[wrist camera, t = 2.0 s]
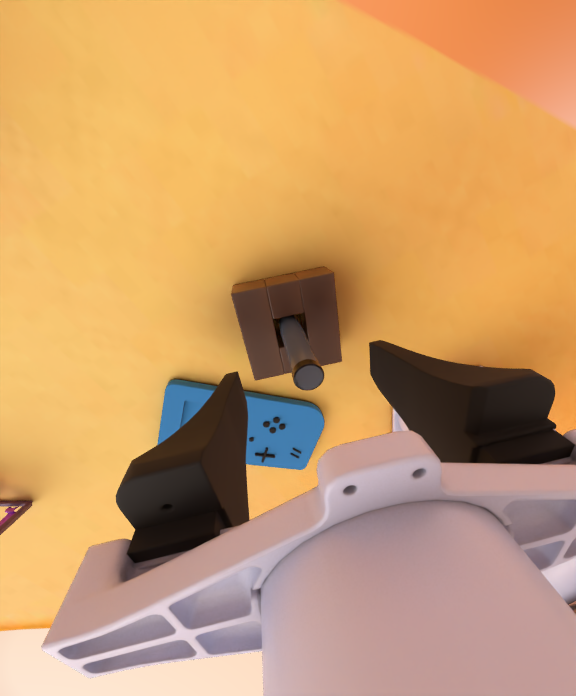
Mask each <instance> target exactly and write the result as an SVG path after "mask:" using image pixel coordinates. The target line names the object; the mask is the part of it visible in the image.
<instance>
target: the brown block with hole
mask: <svg viewBox="0 0 576 696" xmlns="http://www.w3.org/2000/svg"><path fill="white" fill-rule="evenodd" d="M231 296H232V300H233V303H234V307H235V310H236V314H237V318H238V321H239V325H240V328H241V332H242V336H243V339H244V343H245V346H246V350H247V354H248V357H249V361H250V364H251V368H252V372H253V375H254V379H255V380H260V379H264V378H269V377H273V376H278V375H282V374H284V373H285V374H286V373H291V368H290V365H289V361H288V357H287V354H286V350H285V346H284V343H283V339H282V336H281V334H277V335H276V331H275V326H274V322H273V319H276V318H281V317H286V316H291V315H295V314H300V315H301V321H302V327H303V331H304V333H305V335H306V337H307V339H308V341H309V343H310V345H311V347H312V349H313V351H314V353H315V356H316V358H317V360H318V362H319V364H320V365H321V366H324V365H328V364H333V363H337V362H342V356H341V345H340V334H339V324H338V313H337V302H336V291H335V280H334V273H333V272H332V271H330V270H329V269H327V268H326V267H319V268H314V269H309V270H304V271H299V272H295V273H290V274H285V275H280V276H276V277H271V278H266V279H261V280H256V281H251V282H246V283H241V284H236V285H233V288H232V293H231Z"/></svg>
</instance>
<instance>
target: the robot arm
mask: <svg viewBox="0 0 576 696" xmlns="http://www.w3.org/2000/svg"><path fill="white" fill-rule="evenodd" d="M369 346H370V374H371V376H372V378H373V380H374V382H375V384H376V385H377V387H378V389H379V390H380V391H381V393H382V394H383V395H384V397H385V398H386V399H387V401H388V402H389V403H390V404H391V406H392V407H393V425H392V433H388V434H383V435H379V436H375V437H371V438H366V439H362V440H358V441H354V442H349V443H345V444H341V445H338V446H336V447H333V448H331V449H329V450H327V451H326V452H325V454H324V455H323V456H322V457H321V458H320V459H319V460H318V465H317V475H318V486H317V487H315V488H313V489H311V490H309V491H307V492H305V493H303V494H301V495H299V496H297V497H295V498H293V499H291V500H289V501H287V502H285V503H283V504H281V505H279V506H277V507H275V508H273V509H271V510H269V511H267V512H265V513H263V514H261V515H259V516H257V517H255V518H253V519H251V520H249V509H248V494H247V477H246V446H247V431H248V408H247V400H246V397H245V394H244V391H243V387H242V384H241V381H240V378H239V374H238V372H233V373H229V374H226V375H225V376H224V378H223V379H222V381H221V382H220V384H219V385H218V387H217V388H216V390H215V391H214V392H213V394H212V395H211V396H210V398H209V399H208V400H207V401H206V403H205V404H204V405H203V406H202V407H201V409H200V410H199V411H198V412H197V413H196V414H195V415H194V416H193V417H192V418H191V419H190V420H189V421H188V422H187V423H186V424H184V425H183V426H182V427H181V428H180V429H178V430H177V431H176V432H175V433H174V434H172V435H171V436H170V437H168V438H167V439H166V440H164V441H163V442H161V443H160V444H159V445H157V446H156V447H154V448H152V449H151V450H149V451H147V452H146V453H144V454H142V455H141V456H139V457H137V458H136V459H134V460H132V462H131V464H130V466H129V468H128V470H127V472H126V474H125V476H124V478H123V480H122V482H121V485H120V487H119V489H118V491H117V494H116V503H117V505H118V507H119V509H120V510H121V511H122V513H123V514H124V515H125V517H126V518H127V519H128V520H129V522H130V523H131V524H132V526H133V527H134V528H135V532H134V535H133V538H132V541H131V540H128V539H118V540H114V541H110V542H106V543H101V544H97V545H93V546H91V547H89V548H88V551H87V553H86V555H85V557H84V559H83V561H82V563H81V565H80V567H79V569H78V571H77V573H76V576H75V578H74V580H73V582H72V584H71V586H70V588H69V590H68V592H67V594H66V596H65V599H64V601H63V603H62V605H61V607H60V609H59V611H58V613H57V615H56V617H55V619H54V621H53V624H52V626H51V628H50V630H49V632H48V634H47V636H46V638H45V640H44V642H43V645H42V646H41V647H42V650H43V651H44V652H46V653H48V654H49V655H51V656H53V657H54V658H56V659H58V660H59V661H61V662H63V663H64V664H66V665H68V666H69V667H71V668H73V669H74V670H76V671H78V672H79V673H81V674H83V675H85V676H86V677H88V678H94V677H98V676H102V675H107V674H111V673H115V672H119V671H124V670H129V669H134V668H139V667H145V666H150V665H157V664H164V663H171V662H178V661H186V660H194V659H202V658H210V657H218V656H227V655H235V654H243V653H250V652H259V651H262V661H263V690H264V696H576V604H572V605H569V604H571V603H573V602H574V601H576V429H574V430H571V431H568V432H567V433H565V434H564V435H563V436H562V435H561V434H559V433H558V432H557V431H556V430H555V428H556V424H555V423H553V422H552V421H550V420H549V419H548V418H547V417H548V414H549V412H550V409H551V406H552V404H553V401H554V397H555V387H554V384H553V383H552V381H551V380H549V379H547V378H545V377H544V376H542V375H540V374H538V373H537V372H535V371H533V370H531V369H508V368H491V367H484V366H472V365H465V364H459V363H453V362H448V361H444V360H440V359H436V358H432V357H429V356H425V355H422V354H419V353H416V352H413V351H410V350H407V349H404V348H402V347H399V346H396V345H394V344H391V343H388V342H385V341H382V340H379V341H374V342H370V343H369Z"/></svg>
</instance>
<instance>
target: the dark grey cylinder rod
mask: <svg viewBox="0 0 576 696" xmlns="http://www.w3.org/2000/svg"><path fill="white" fill-rule="evenodd" d="M277 322H278V326H279V328H280V332H281V336H282V339H283V343H284V346H285V350H286V354H287V357H288V361H289V365H290V368H291V372H292V377H293V381H294V383H295V385H296V386H297V387H298V388H300V389H302V390H313V389H315V388H317V387H318V386H320V384H321V383H322V382H323V379H324V371H323V369H322V367H321V365H320V364H319V362H318V360H317V358H316V356H315V353H314V351H313V349H312V347H311V345H310V343H309V341H308V339H307V337H306V335H305V333H304V331H303V328H302V326H301V324H300V322H299V320H298V317H297V315H296V314H295V315H291V316H286V317H281V318H277Z"/></svg>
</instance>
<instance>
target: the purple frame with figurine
mask: <svg viewBox="0 0 576 696" xmlns="http://www.w3.org/2000/svg"><path fill="white" fill-rule="evenodd" d="M0 506H18V507H19V506H22V507H21V508H20V509H19V510H18V511H17V512H14V510H15V509H16V508H18V507H15V508H11V507H9V508H7V509H6V510H5V512H6V513H8V514H7V515H6V516H5V517H4V518H3V519H2V520H1V521H0V535H1V534H2V533H3V532H4V531H5V530H6V529H7V528H8V527H10V526H11V525H12V524H13V523H14V522H15V521H16V520H17V519H18V518H19V517H20V516H21V515H23V514H24V513H25V512H26V511H27V510H28V509H29V508H30V507H31V506H32V501H0Z"/></svg>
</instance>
